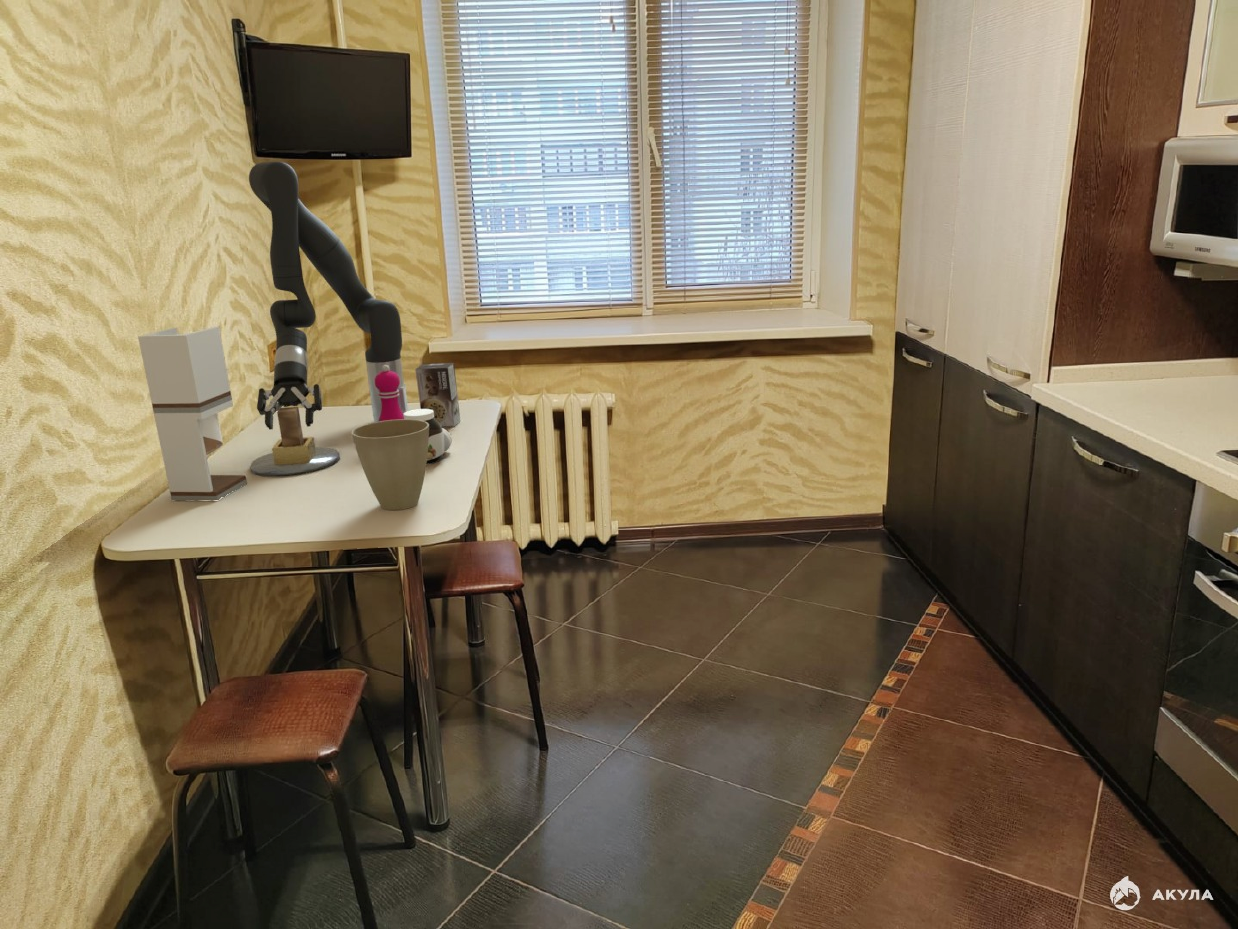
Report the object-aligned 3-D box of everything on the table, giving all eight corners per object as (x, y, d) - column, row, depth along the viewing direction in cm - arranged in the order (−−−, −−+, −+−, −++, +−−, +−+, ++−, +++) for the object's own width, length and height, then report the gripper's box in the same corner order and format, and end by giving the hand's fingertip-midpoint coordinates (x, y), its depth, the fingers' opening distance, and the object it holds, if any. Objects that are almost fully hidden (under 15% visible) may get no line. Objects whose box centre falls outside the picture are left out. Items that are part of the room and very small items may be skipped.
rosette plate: (345, 448, 225) (342, 428, 224) (333, 472, 207) (330, 450, 205) (262, 455, 223) (258, 435, 221) (242, 480, 204) (238, 458, 202)
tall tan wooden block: (305, 455, 216) (298, 406, 213) (302, 460, 213) (295, 410, 209) (288, 457, 216) (280, 408, 212) (285, 461, 212) (277, 412, 209)
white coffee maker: (217, 501, 190) (186, 335, 180) (171, 500, 192) (138, 336, 182) (247, 483, 201) (219, 326, 191) (203, 483, 203) (173, 327, 193)
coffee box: (461, 420, 247) (455, 362, 242) (454, 426, 241) (448, 367, 236) (428, 421, 248) (422, 363, 243) (421, 427, 242) (414, 368, 237)
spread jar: (402, 467, 207) (396, 418, 204) (402, 454, 218) (396, 407, 215) (455, 461, 210) (450, 413, 206) (452, 449, 220) (447, 402, 217)
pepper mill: (374, 446, 226) (363, 367, 220) (391, 438, 232) (381, 361, 227) (398, 448, 223) (388, 368, 217) (415, 440, 230) (406, 362, 224)
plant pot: (448, 505, 181) (440, 428, 176) (375, 522, 173) (364, 442, 169) (422, 487, 193) (413, 414, 188) (352, 502, 186) (342, 427, 181)
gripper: (255, 361, 214) (252, 420, 206) (318, 357, 216) (317, 415, 208) (264, 379, 220) (261, 437, 213) (324, 375, 222) (324, 431, 215)
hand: (289, 426), depth 211 cm, fingers open, 8 cm apart
